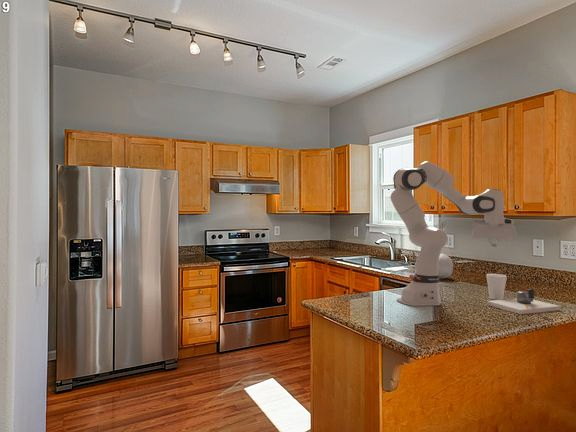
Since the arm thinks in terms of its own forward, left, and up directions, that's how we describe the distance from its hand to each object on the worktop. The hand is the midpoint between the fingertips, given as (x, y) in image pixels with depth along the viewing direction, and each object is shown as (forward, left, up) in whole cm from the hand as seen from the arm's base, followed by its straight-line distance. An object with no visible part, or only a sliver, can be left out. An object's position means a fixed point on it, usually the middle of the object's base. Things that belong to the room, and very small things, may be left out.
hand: (493, 246), depth 189 cm
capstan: (+5, -15, -27) cm, 31 cm away
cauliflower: (+24, +71, -29) cm, 81 cm away
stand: (+6, -12, -29) cm, 32 cm away
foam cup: (+9, +6, -29) cm, 31 cm away
